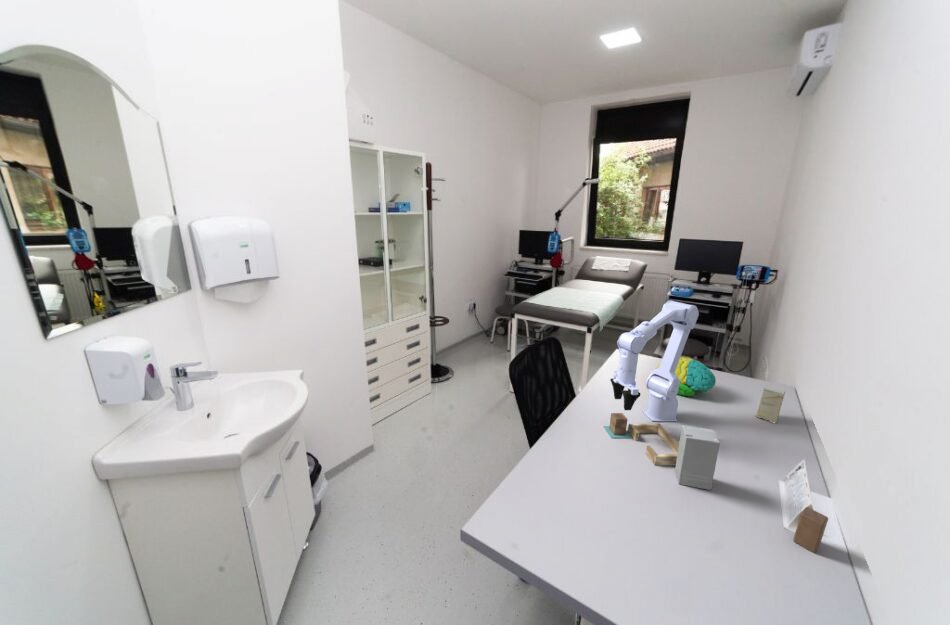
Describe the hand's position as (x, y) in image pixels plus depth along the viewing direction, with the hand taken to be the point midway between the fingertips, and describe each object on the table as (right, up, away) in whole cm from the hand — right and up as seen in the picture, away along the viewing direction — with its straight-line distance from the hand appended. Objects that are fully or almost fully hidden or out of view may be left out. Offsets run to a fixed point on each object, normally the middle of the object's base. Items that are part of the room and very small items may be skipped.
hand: (622, 404), depth 127 cm
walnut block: (-2, -10, 0) cm, 10 cm away
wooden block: (+26, -22, -42) cm, 54 cm away
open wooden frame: (+8, -12, -7) cm, 16 cm away
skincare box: (+11, -16, -23) cm, 30 cm away
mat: (-2, -10, 0) cm, 10 cm away
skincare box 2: (+60, -9, +12) cm, 62 cm away
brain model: (+40, -2, +34) cm, 52 cm away
